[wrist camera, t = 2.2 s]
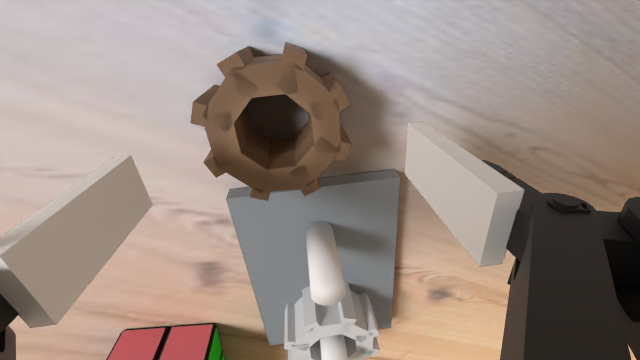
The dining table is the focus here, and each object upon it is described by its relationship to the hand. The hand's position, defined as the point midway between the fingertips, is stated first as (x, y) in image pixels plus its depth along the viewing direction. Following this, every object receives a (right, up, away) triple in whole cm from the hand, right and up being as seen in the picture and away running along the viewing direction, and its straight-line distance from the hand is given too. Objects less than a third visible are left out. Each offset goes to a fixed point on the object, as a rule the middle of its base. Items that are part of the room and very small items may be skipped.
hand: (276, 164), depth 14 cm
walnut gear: (-1, +4, +7) cm, 8 cm away
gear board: (+2, -9, +15) cm, 18 cm away
